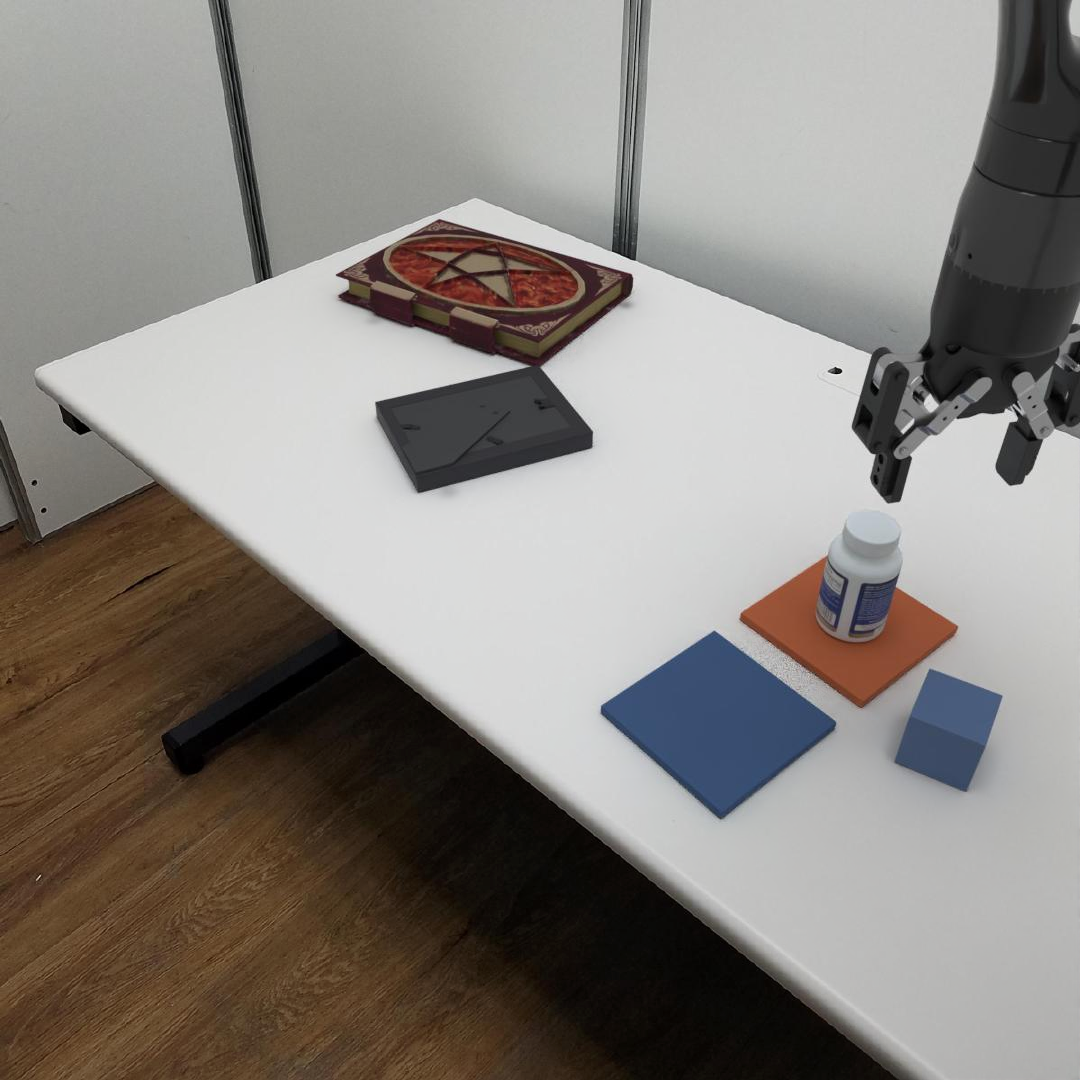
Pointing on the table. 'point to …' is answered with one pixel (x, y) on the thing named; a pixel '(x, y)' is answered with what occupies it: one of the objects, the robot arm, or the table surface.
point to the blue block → (948, 729)
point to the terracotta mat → (840, 662)
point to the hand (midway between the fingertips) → (947, 486)
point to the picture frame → (481, 427)
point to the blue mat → (718, 722)
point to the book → (486, 290)
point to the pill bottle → (860, 577)
